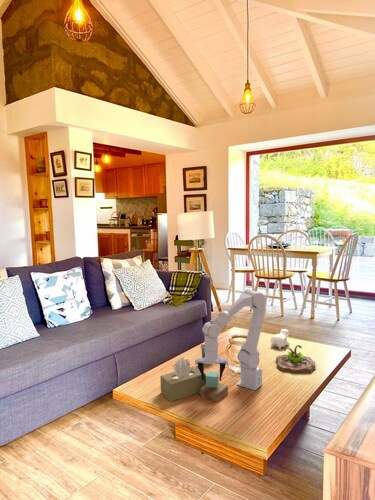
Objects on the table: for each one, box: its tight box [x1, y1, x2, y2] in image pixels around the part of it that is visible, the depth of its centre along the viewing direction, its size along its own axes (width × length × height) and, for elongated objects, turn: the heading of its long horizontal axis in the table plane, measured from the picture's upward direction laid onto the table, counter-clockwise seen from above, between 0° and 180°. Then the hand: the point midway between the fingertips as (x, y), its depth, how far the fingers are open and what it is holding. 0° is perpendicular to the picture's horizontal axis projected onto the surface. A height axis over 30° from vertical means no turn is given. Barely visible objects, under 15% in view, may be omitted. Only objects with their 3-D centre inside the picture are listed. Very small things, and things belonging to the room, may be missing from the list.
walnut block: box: [199, 383, 229, 403], centre depth 158 cm, size 9×9×4 cm
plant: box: [275, 344, 316, 374], centre depth 187 cm, size 20×20×11 cm
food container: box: [200, 343, 205, 358], centre depth 197 cm, size 12×6×10 cm, turn 143°
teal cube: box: [205, 370, 220, 388], centre depth 160 cm, size 5×5×5 cm
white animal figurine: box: [270, 328, 290, 350], centre depth 217 cm, size 9×8×15 cm
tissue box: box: [159, 357, 207, 402], centre depth 161 cm, size 19×10×16 cm, turn 121°
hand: (211, 379), depth 159 cm, fingers open, 7 cm apart
